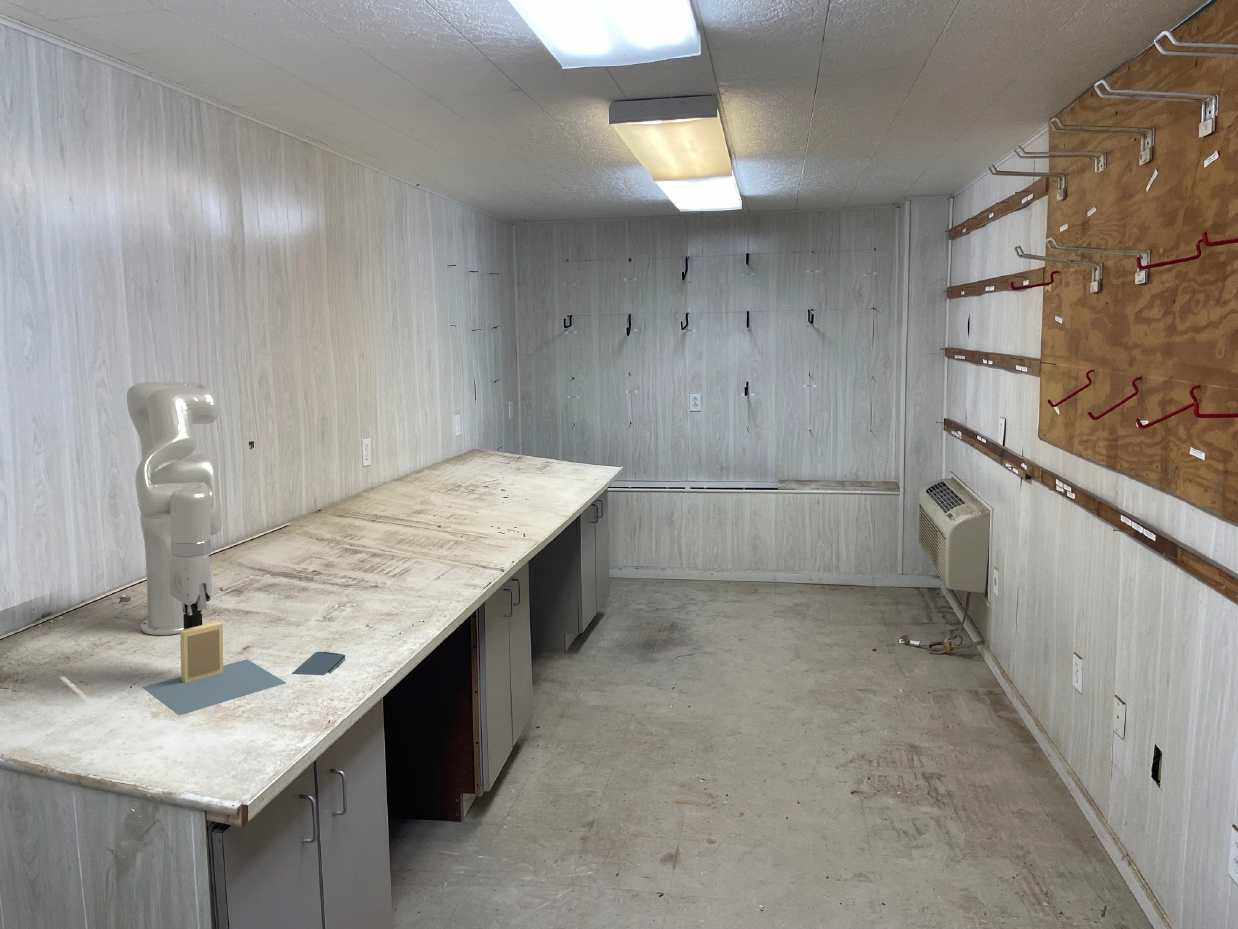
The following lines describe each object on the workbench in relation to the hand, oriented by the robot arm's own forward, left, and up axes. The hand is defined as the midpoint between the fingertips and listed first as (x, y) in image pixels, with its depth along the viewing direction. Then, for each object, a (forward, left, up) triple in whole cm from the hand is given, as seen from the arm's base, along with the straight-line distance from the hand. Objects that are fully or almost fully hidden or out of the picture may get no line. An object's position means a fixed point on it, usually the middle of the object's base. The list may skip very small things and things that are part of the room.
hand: (193, 631), depth 181 cm
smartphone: (+15, +20, -11) cm, 27 cm away
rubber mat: (+10, 0, -10) cm, 14 cm away
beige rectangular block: (+4, 0, -9) cm, 10 cm away
